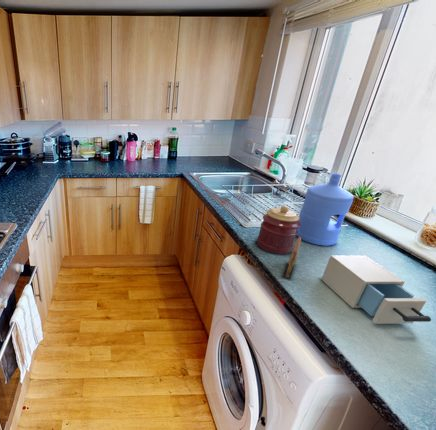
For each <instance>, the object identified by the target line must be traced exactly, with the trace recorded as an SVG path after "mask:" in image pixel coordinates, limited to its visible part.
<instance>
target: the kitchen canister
mask: <svg viewBox="0 0 436 430" xmlns="http://www.w3.org/2000/svg"><path fill="white" fill-rule="evenodd" d="M262 219H263V220H262V222H261V223H260V228H259V232H258V235H257V238H256V244H257V246H258V247H259V248H261V249H263V250H264V251H266V252H269V253H272V254H277V255H287V254H289V253H292V251H293V249H294V245H295V241H296V238H297V234H298V230H297V228H298V227H299V226H300V222H299V221H298V220H299V219H300V217H299V214H297V213H296V212H295V211H293V210H291V209H289V207H288V206H287V205H283V206H281V207H273V208H269V209H267V210H266V213H265V214H263V215H262Z"/></svg>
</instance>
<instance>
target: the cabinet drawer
mask: <svg viewBox="0 0 436 430" xmlns="http://www.w3.org/2000/svg"><path fill="white" fill-rule="evenodd" d="M414 296H415V295H414V294H413V293H412V292H410V291H409V290H407V289H406V288H404V287H403V286H402V287H401V286H400V285H398V284H366V286H365V288H364V290H363V293H362V295H361V297H360V299H359V301H358V303H357V304H358V305H359V306H360V307H362V308H361V309H363V310H364V311H365V312H366V313H367V314H368V315H369V316H371V317H373V318H372V322H373V323H375V324H380V325H381V324H382V325H383V324H414V322H415V323H417V322H418V323H425V322H426V323H428V322H431V321H432V318H431V317H430V316H429V315H425V314H423V313H422V312H421V311H422V309H423V307H424V306H425V305H426V302H427V300H425V299H424V298H422V297H414Z"/></svg>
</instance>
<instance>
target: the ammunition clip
mask: <svg viewBox="0 0 436 430" xmlns="http://www.w3.org/2000/svg"><path fill="white" fill-rule="evenodd" d="M301 242H302V239H301V236H300V237H297V239H296V242H295V243H294V245H293V249H292V251H291V252H290V253H291V254H290V256H289V260H288V262H287V265H286V269H285V271H284V274H283V278H285V279H288V280H290V279H291V278H292V274H293V271H294V268H295V265H296V261H297V258H298V256H299V250H300V248H301V247H300V246H301Z"/></svg>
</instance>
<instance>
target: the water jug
mask: <svg viewBox="0 0 436 430" xmlns="http://www.w3.org/2000/svg"><path fill="white" fill-rule="evenodd" d="M341 178H342V174H338V173H331V176H330V178H329V181H328V183H324V184H317V185H312V186H309V187H308V188H307V190H306V192H305V195H304V199H303V204H302V207H301V209H300V211H299V214H298V216H299V217H300V219H299V220H298V221H299V222H300V226H299V227H298V228H297V230H298V234H297V235H296V237H297V238H299V237H300V236H301V241H302V240H303V241H305V242H307V243H310V244H313V245H317V246H324V247H327V246H328V247H329V246H333V245H335V244H337V242H338V241H339V236H340V234H341V231H342V229H343V227H342V225H343V223H344V220H345V217H346V215H347V214H348V213H349V211H350V209H351V207H352V205H353V201H354V199H355V198H354V195H353V193H351V192H349V190H346V189H344V188H342V187H341V186H340V185H339V183H340V181H341ZM335 215H337V216H338V218H337V221H335V220H333V219H332V217H333V216H335Z"/></svg>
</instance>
